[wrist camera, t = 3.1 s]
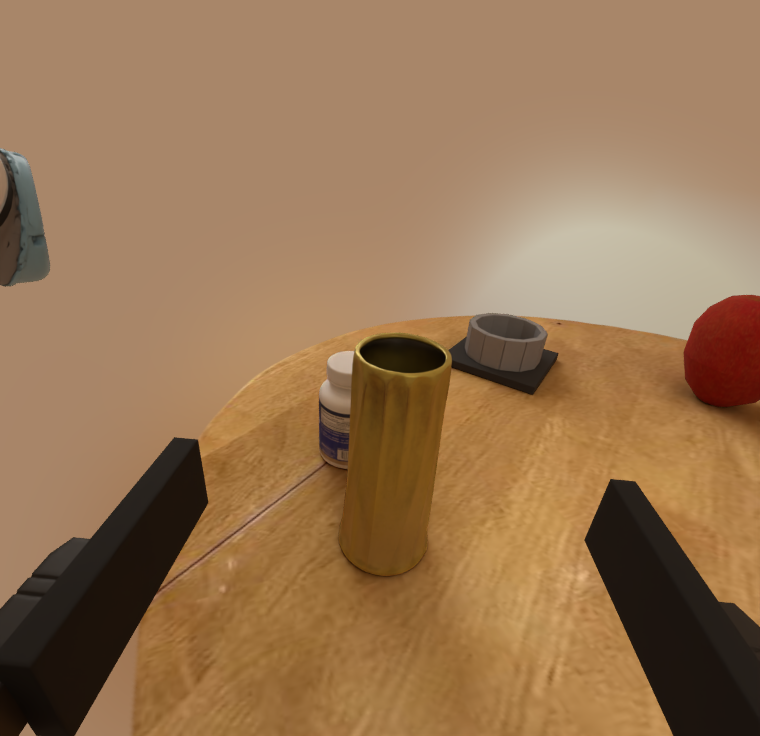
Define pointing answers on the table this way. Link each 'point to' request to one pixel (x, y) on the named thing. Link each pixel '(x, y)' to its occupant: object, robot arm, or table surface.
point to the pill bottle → (336, 410)
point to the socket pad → (501, 376)
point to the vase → (393, 450)
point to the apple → (726, 353)
